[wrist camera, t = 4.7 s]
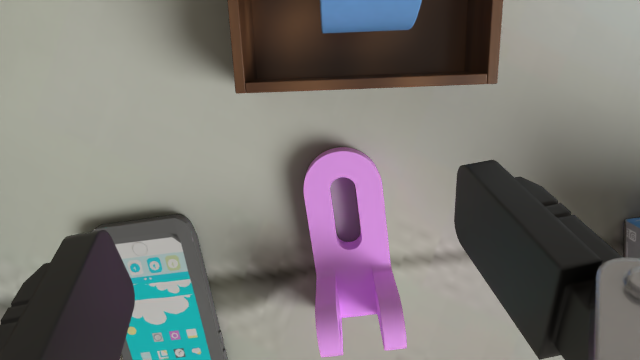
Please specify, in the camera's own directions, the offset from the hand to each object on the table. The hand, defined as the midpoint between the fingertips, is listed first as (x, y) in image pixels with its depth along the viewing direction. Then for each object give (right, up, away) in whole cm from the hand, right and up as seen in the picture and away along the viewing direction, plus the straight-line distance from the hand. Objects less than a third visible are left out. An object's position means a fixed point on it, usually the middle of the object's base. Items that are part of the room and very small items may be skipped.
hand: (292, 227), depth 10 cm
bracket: (+3, -3, +23) cm, 23 cm away
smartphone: (-12, -9, +25) cm, 29 cm away
